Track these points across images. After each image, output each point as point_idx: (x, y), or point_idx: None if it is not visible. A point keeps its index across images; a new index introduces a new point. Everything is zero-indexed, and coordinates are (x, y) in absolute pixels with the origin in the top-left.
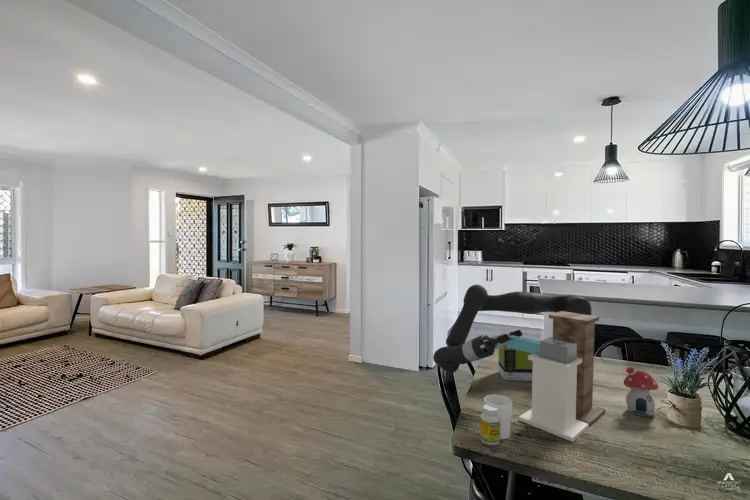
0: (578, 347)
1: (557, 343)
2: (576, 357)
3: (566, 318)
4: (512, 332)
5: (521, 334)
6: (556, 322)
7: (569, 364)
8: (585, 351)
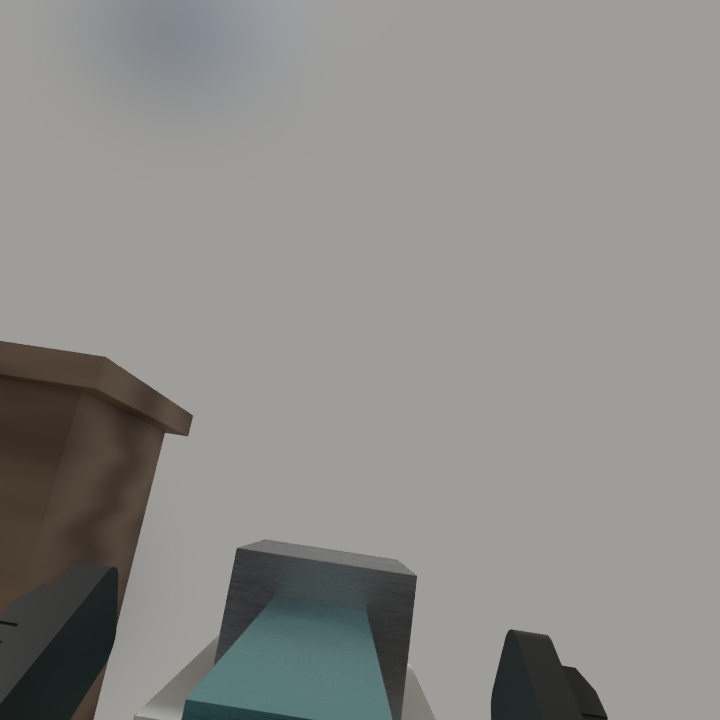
0: None
1: (372, 560)
2: (213, 641)
3: (154, 397)
4: (30, 677)
5: (113, 634)
6: (85, 426)
7: None
8: None
